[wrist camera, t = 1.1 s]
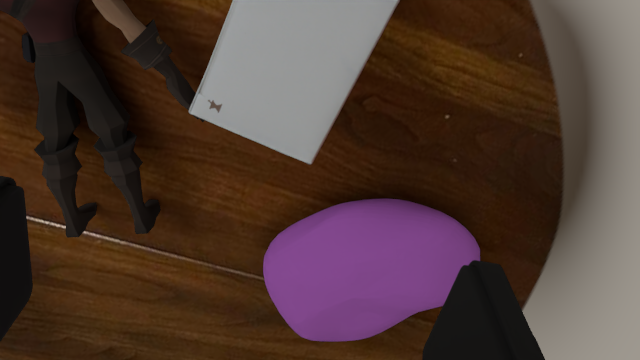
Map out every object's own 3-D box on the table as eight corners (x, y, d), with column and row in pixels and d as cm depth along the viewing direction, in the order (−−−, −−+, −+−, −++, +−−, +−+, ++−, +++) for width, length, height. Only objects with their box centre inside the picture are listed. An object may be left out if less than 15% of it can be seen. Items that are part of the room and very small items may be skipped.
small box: (313, 84, 31) (310, 171, 22) (226, 43, 30) (184, 118, 20) (380, -46, 27) (409, -6, 18) (283, -99, 26) (261, -84, 17)
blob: (476, 186, 34) (498, 230, 30) (456, 305, 40) (472, 357, 36) (262, 188, 35) (254, 233, 30) (272, 307, 40) (266, 359, 36)
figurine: (233, 190, 36) (166, -150, 24) (224, 230, 32) (141, -147, 21) (23, 201, 36) (-138, -127, 25) (-9, 242, 33) (-213, -119, 21)
